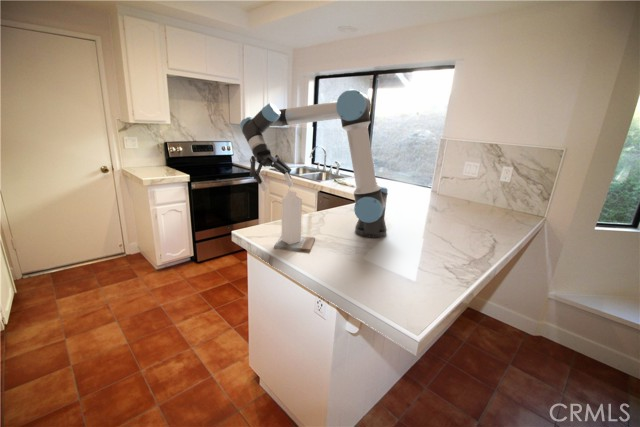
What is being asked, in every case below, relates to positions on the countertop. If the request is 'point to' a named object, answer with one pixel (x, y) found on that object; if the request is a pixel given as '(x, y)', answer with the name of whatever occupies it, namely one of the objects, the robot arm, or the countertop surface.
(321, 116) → the robot arm
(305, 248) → the board
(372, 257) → the countertop surface
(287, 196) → the milk
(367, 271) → the countertop surface
